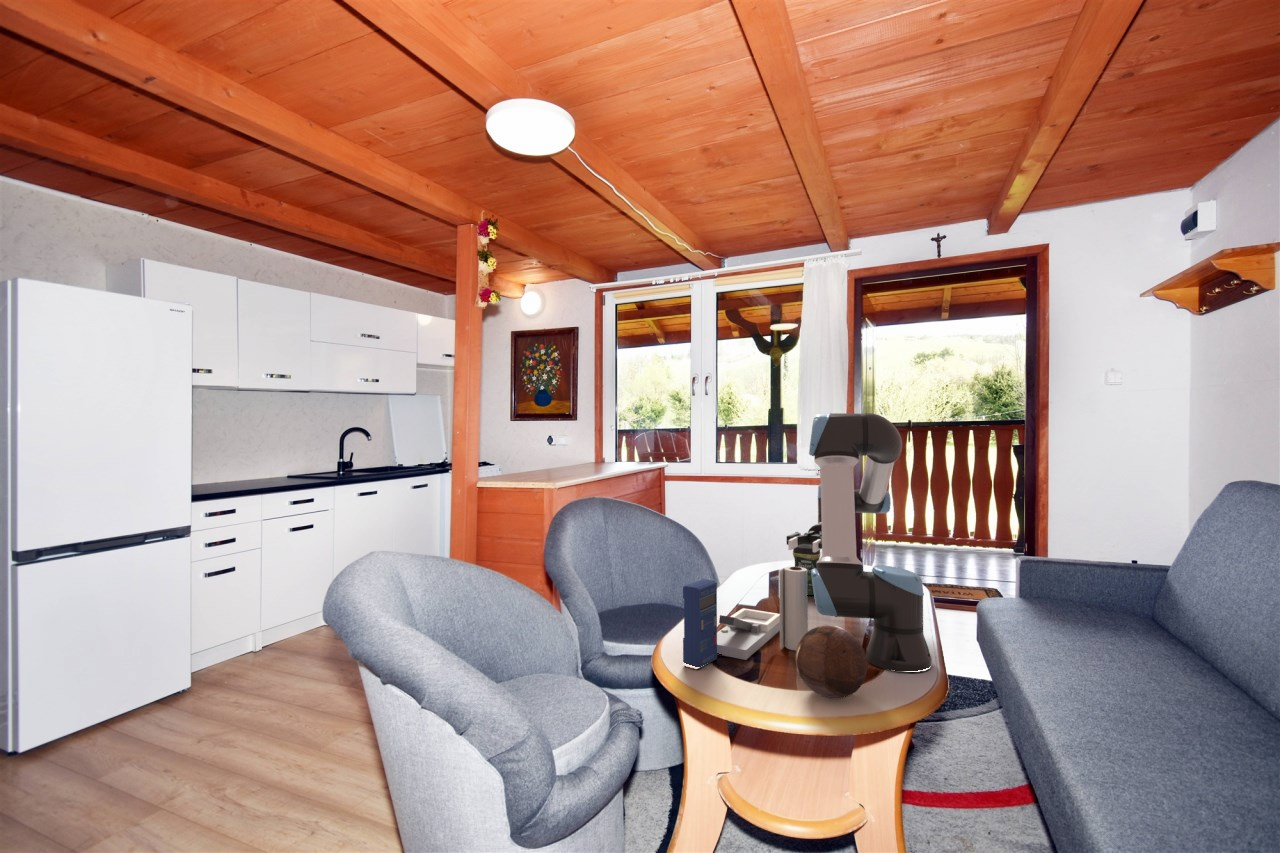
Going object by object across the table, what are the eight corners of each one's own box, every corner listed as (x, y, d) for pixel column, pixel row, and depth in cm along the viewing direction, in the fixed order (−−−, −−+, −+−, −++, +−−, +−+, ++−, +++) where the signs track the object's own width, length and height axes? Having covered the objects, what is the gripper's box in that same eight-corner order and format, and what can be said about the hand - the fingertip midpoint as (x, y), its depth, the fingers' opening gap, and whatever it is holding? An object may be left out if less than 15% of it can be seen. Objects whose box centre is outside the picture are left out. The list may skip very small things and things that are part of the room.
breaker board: (742, 622, 182) (742, 608, 183) (781, 629, 176) (780, 614, 176) (703, 651, 158) (703, 634, 158) (746, 660, 152) (745, 642, 152)
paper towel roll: (807, 644, 163) (807, 566, 163) (807, 652, 157) (807, 571, 158) (780, 642, 165) (780, 564, 165) (779, 650, 159) (779, 569, 160)
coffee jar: (790, 594, 215) (790, 543, 216) (795, 589, 223) (794, 539, 223) (818, 597, 211) (818, 545, 212) (822, 592, 218) (821, 541, 219)
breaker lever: (738, 621, 170) (718, 614, 158) (754, 624, 168) (735, 617, 156) (737, 629, 169) (717, 622, 158) (753, 631, 167) (734, 625, 155)
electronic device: (699, 671, 145) (699, 588, 145) (681, 666, 148) (681, 585, 148) (718, 659, 152) (718, 581, 153) (701, 655, 155) (701, 578, 156)
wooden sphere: (873, 690, 133) (872, 623, 134) (860, 717, 121) (859, 642, 121) (805, 676, 141) (805, 613, 141) (787, 700, 128) (786, 630, 128)
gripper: (854, 549, 183) (836, 563, 163) (792, 544, 193) (768, 556, 173) (854, 525, 183) (836, 535, 163) (792, 520, 193) (768, 530, 173)
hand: (801, 546), depth 168 cm, fingers open, 6 cm apart
